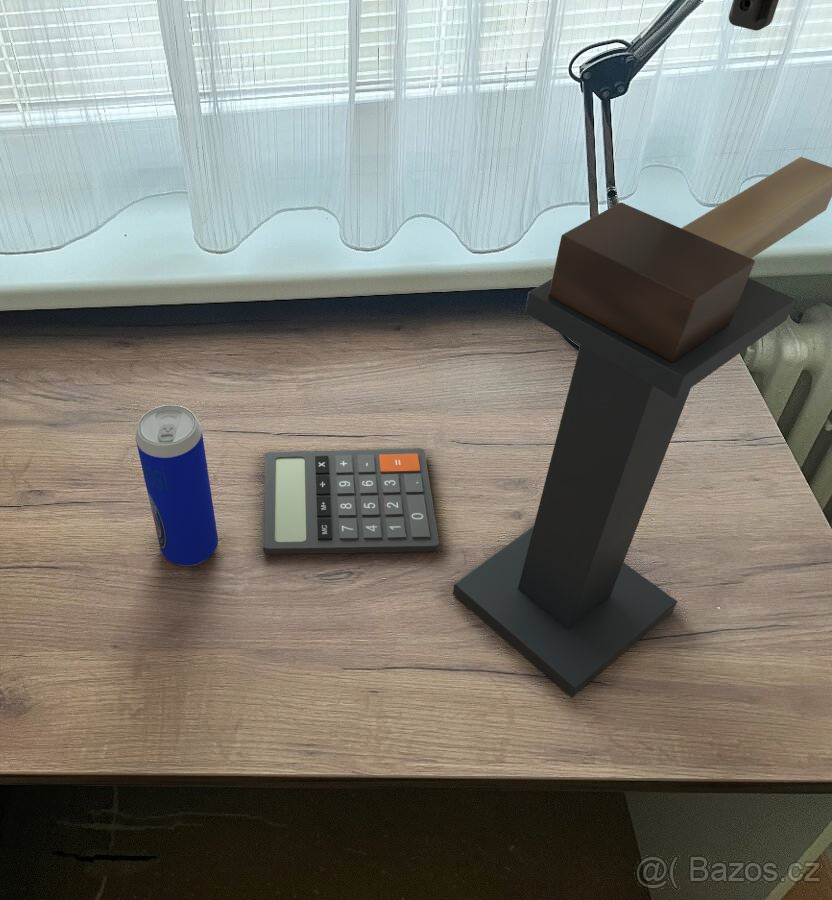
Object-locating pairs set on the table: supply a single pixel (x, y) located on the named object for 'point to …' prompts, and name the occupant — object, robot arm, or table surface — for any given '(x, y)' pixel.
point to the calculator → (348, 502)
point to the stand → (600, 494)
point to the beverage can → (177, 483)
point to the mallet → (681, 260)
